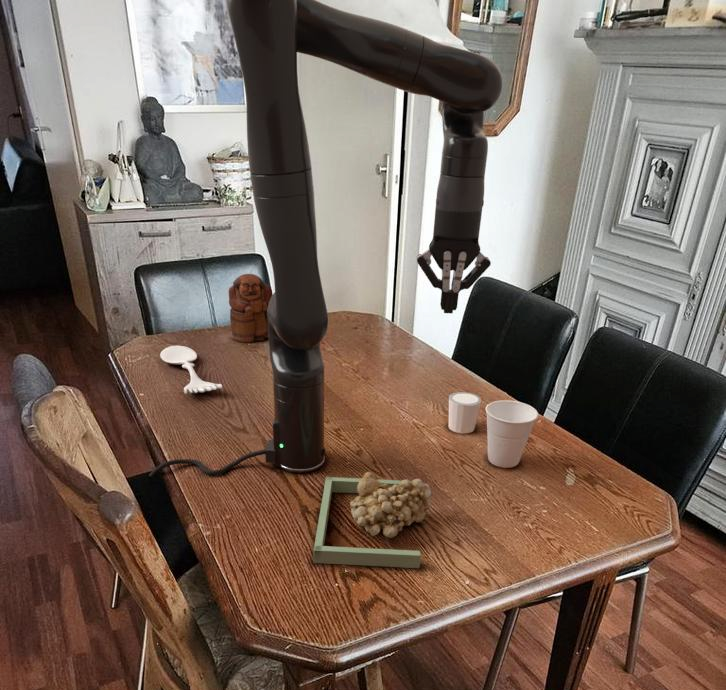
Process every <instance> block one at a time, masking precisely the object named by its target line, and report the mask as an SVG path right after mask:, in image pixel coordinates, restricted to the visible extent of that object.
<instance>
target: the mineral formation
mask: <svg viewBox="0 0 726 690" xmlns="http://www.w3.org/2000/svg"><path fill="white" fill-rule="evenodd" d="M360 479H361V480H360V482H359V484H358V486H357V491H358V493H357V494H358V496H355V498H354V499H353V500H351V501H350V503H349V504H350V505H349V506H350V508H351V509H350V510H351V517H352V518H353V519H354V523H356V524H357V525H358V526H360V527H364V529H365V531H366V532H367V534H370V535H371V536H372V537H375V536H376V535H379V533H380V532H381V530H382V534H383V536H384V537H386V538H389V539H393V538H394V537H396V536H397V535H398V534H399V532H402V530H403V527H404V526H409V527H410V526H411V524H412V523H413V524H414V522H415V523H418V524H420V523H421V522H422V521H424V519H425V517H426V515H427V512H426V511H427V510H429V509H431V507H432V506H433V505H432V502H430V498H432V496H433V495H432V492H431V489H430V484H428V483H424V482H423V480H421V479H419V478H415V479H414V478H413V480H410V479H401V481H402V482H401V484H399V485H396V484H395V485H393V486H392V487H390V486H389V485H388V484H382V483H381V482H379V481H377V479H378V476H377V475H376V474H374V473H372V472H370V471H368V472H365V473H364V474H363V475H362V477H361V478H360ZM410 481H412V482H410Z"/></svg>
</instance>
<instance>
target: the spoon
mask: <svg viewBox="0 0 726 690" xmlns="http://www.w3.org/2000/svg"><path fill="white" fill-rule="evenodd" d="M159 357H160V359H161V360H162V361H164V362H165V363H167V364H170V365H178V366H180V365H181V367H182V368H183V369H186V370H187V371H188V373H189V375H190V381H189V383H188V384H186V385H185V386H184V387H183V392H184V395H187V394H193V393H194V394H198V393H201V394H203V393H205V392H211V391H216V390H217V389H220V390H222V389H223V385H222V383H214V382H208V381H204V380H202V379H201V378H200V377H199V375H198V374H197V373H196V371H195V369H194V367H195V366H196V364H195V363H193V362H194V361H196V360H197V358H198V355H197V353H196V351H195V350H194V349H192V348H190V347H188V346H185V345H171V346H168V347H165V348H164V349H163V350H161V352H160V353H159Z"/></svg>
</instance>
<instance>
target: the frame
mask: <svg viewBox="0 0 726 690" xmlns="http://www.w3.org/2000/svg"><path fill="white" fill-rule="evenodd" d="M361 479H362V478H357V477H333V476H326V477H325V480H324V487H323V493H322V498H321V503H320V511H319V515H318V521H317V528H316V533H315V539H314V546H313V564H327V565H329V564H330V565H348V566H363V567H367V566H368V567H385V568H386V567H387V568H406V569H407V568H408V569H420V566H421V556H422V555H421V554H422V553H421V550H411V549H410V550H409V549H391V548H389V549H388V548H373V547H372V548H371V547H370V548H369V547H351V546H350V547H349V546H334V545H333V546H329V545H325V542H326V535H327V528H328V522H329V516H330V509H331V501H332V497H333V495H332V494H333V493H343V494H359V493H358V491H357V486H358V484H359V482H360V480H361ZM377 481H379V482H381V483H382V484H388V485H389V486H390V487H392V486H393V485H395V484H396V485H399V484H401V482H402V480H399V479H397V480H396V479H378V478H377ZM412 481H413V480H410V482H412Z"/></svg>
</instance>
